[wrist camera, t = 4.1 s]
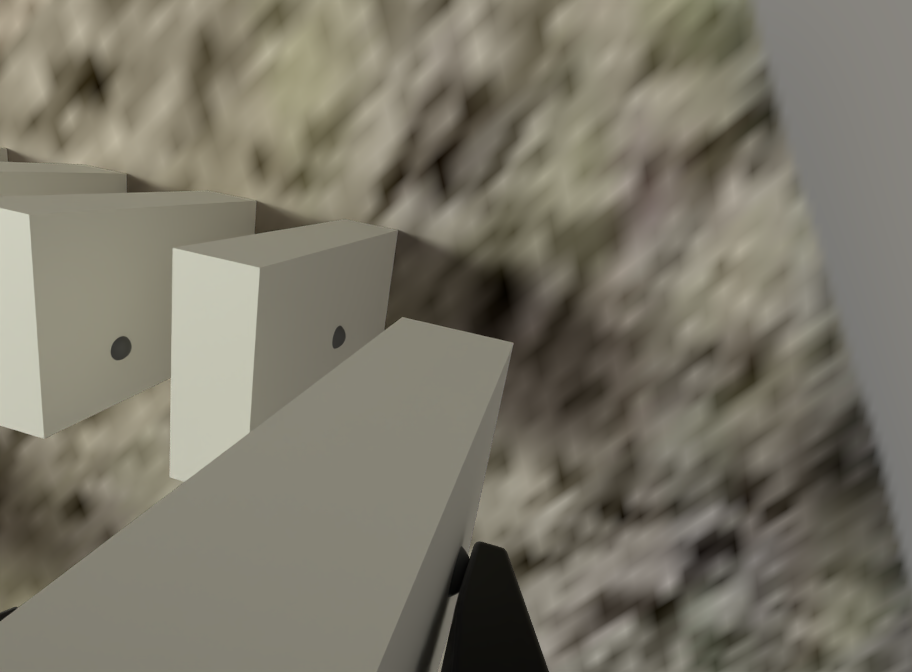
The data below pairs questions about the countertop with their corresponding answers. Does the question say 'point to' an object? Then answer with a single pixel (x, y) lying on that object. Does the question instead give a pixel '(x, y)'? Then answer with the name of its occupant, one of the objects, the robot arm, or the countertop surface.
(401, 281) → the countertop surface
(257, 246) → the domino
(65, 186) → the domino
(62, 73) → the countertop surface
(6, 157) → the domino
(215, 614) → the domino
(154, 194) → the domino
